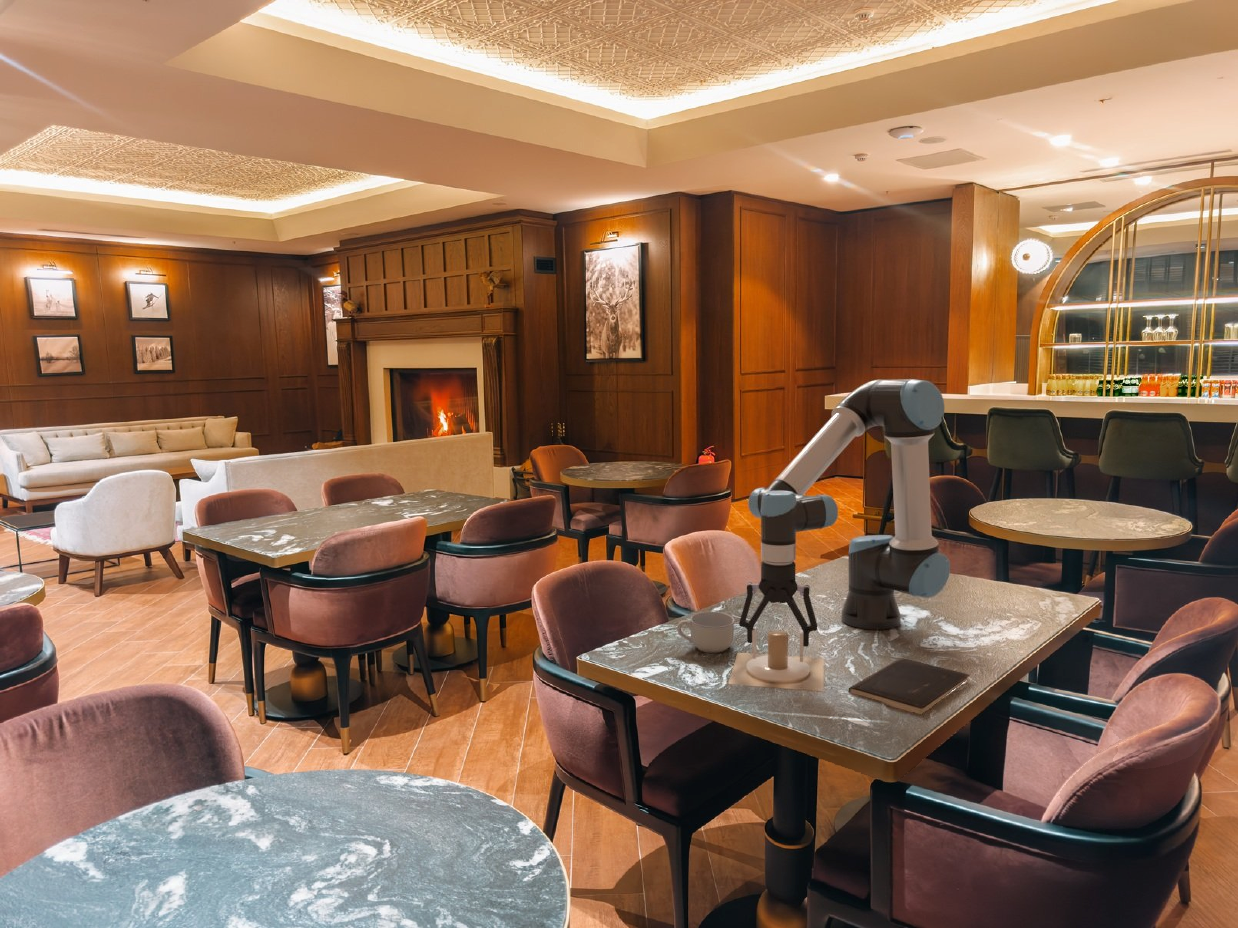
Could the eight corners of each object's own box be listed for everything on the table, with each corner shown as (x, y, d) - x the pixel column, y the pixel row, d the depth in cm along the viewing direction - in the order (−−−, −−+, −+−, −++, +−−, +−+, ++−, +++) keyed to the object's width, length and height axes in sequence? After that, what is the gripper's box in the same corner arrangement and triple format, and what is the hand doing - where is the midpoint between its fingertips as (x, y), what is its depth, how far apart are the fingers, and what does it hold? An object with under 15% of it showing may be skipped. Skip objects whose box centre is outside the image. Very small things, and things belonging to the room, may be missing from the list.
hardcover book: (969, 684, 177) (969, 674, 177) (922, 718, 161) (922, 707, 161) (899, 666, 188) (899, 656, 188) (848, 696, 172) (848, 685, 172)
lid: (810, 661, 190) (810, 626, 189) (809, 684, 177) (809, 646, 175) (749, 657, 193) (749, 622, 192) (743, 679, 180) (743, 642, 179)
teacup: (733, 642, 206) (733, 611, 205) (735, 657, 195) (735, 624, 194) (677, 641, 207) (677, 610, 206) (676, 656, 196) (676, 624, 195)
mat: (823, 659, 192) (823, 658, 192) (823, 692, 173) (823, 691, 173) (737, 654, 197) (737, 652, 197) (728, 685, 178) (728, 683, 178)
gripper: (830, 559, 183) (829, 655, 185) (729, 555, 188) (729, 649, 191) (830, 567, 176) (829, 667, 178) (725, 562, 181) (726, 660, 184)
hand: (777, 658), depth 185 cm, fingers open, 10 cm apart
